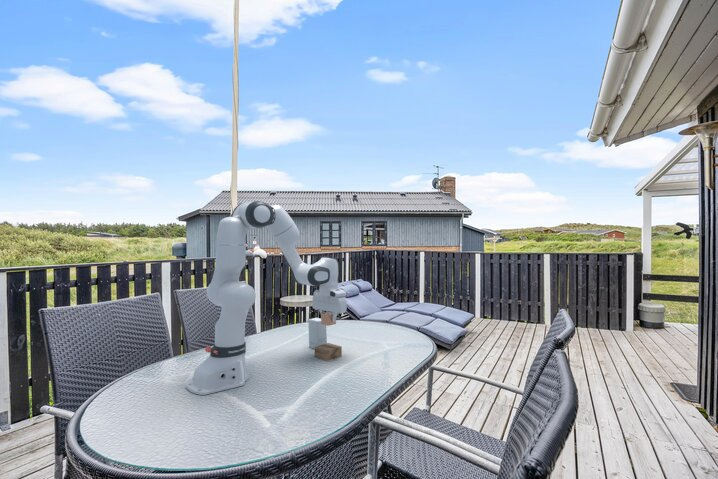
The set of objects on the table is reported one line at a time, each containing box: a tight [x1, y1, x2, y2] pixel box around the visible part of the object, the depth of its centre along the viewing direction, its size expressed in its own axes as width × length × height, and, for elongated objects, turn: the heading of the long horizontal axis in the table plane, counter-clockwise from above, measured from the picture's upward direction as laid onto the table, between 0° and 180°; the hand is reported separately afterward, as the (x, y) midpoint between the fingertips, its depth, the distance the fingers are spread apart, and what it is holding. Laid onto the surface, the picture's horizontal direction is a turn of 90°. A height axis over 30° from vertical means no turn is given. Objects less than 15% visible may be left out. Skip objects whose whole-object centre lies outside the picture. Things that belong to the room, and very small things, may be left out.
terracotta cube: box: [320, 311, 337, 327], centre depth 171 cm, size 5×5×5 cm
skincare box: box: [308, 317, 328, 350], centre depth 185 cm, size 8×6×15 cm
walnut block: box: [314, 342, 343, 362], centre depth 171 cm, size 9×9×5 cm
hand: (328, 320), depth 171 cm, fingers closed on terracotta cube, 5 cm apart
